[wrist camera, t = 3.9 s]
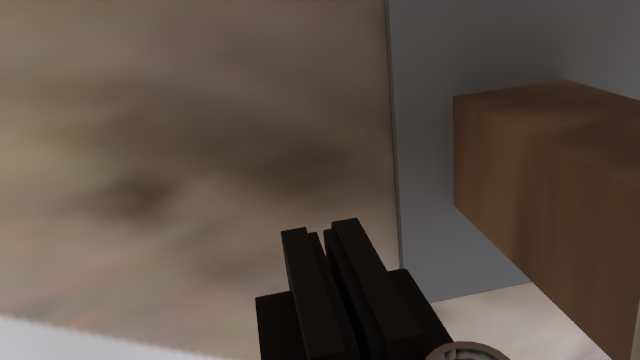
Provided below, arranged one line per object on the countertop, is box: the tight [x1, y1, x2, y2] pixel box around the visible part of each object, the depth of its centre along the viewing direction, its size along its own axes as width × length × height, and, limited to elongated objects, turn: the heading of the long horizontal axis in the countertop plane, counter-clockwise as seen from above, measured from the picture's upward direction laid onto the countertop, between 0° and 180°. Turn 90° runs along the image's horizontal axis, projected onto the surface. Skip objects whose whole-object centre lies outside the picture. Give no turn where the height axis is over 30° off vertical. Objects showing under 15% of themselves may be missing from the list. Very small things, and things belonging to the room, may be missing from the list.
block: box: [453, 79, 640, 360], centre depth 13 cm, size 4×4×9 cm
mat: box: [385, 0, 640, 303], centre depth 18 cm, size 14×12×1 cm
